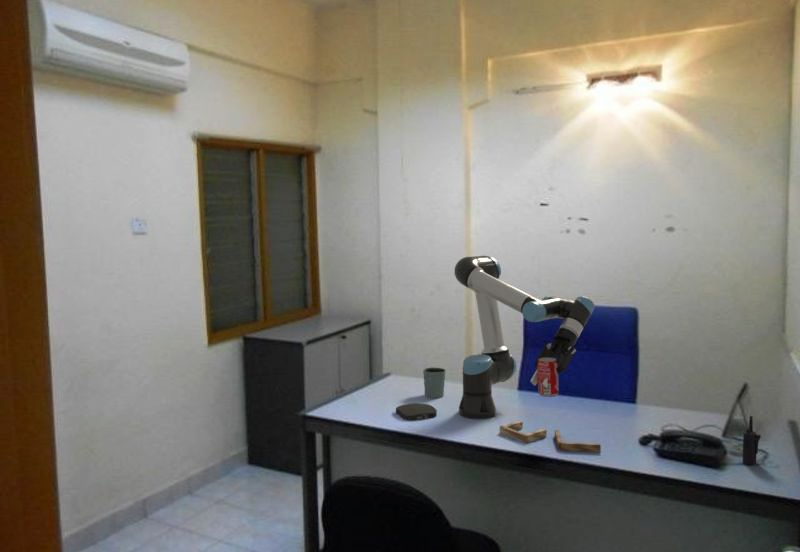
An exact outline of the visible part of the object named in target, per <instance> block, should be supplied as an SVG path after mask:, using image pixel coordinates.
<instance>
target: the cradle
mask: <svg viewBox="0 0 800 552" xmlns="http://www.w3.org/2000/svg"><path fill="white" fill-rule="evenodd" d="M554 438H555V442H556V446H557V447H556V448H557V450H559V451H561V452H562V451H563V452H565V451H566V452H582V453H583V452H586V453H588V452H589V453H601V447H602V446H601V443H596V442H576V441H575V442H574V441H573V442H571V441H563V438H562V436H561V432H560V430H559V429H554Z"/></svg>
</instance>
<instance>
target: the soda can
mask: <svg viewBox="0 0 800 552" xmlns="http://www.w3.org/2000/svg"><path fill="white" fill-rule="evenodd" d="M536 368H537V369H538V382H537V393H538V394H539V396H541V397H543V398H554V397H555V398H556V397H557V396H558V395H559V391H560V390H559V373H558V374H557V368H558V363H557V361H556V357H553V358H539V361H538V363H537V366H536ZM552 377H553V378H552ZM545 379H547V383H548V388H546V387H545V386H544V385H543V384H542V383H543V382H544V380H545Z"/></svg>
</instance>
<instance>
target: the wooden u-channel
mask: <svg viewBox="0 0 800 552" xmlns="http://www.w3.org/2000/svg"><path fill="white" fill-rule="evenodd" d="M522 429H523V421H521V420H518V421H514V422H510V423H507V424H503V425H500V426H499V434H501V435H504V436H506V437H509V438H512V439H514V440H516V441H520V442H522V443H525V444H527V443H531V442H534V441H536V440H539V439H543V438H546V437H547V429H545V428H540V429H538V430H536V431H532V432H528V433H524V432H521V431H519V430H522Z"/></svg>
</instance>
